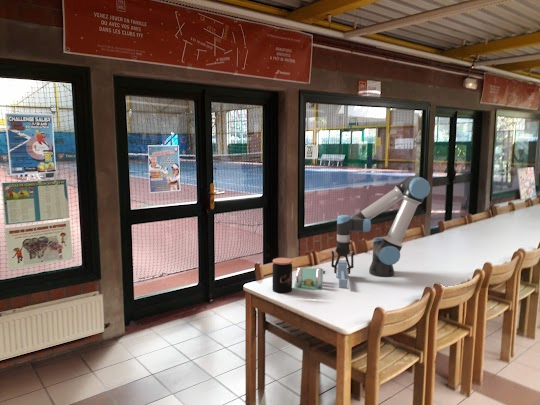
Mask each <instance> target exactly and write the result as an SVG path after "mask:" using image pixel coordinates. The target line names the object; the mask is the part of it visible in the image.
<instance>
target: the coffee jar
mask: <svg viewBox="0 0 540 405" xmlns="http://www.w3.org/2000/svg"><path fill="white" fill-rule="evenodd" d="M272 262H273V263H272V292H274V293H276V294H289V293H291V292H292V291H293V264H292V263H293V259H292V258H288V257H276V258H273V259H272Z"/></svg>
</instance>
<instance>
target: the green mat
mask: <svg viewBox="0 0 540 405" xmlns="http://www.w3.org/2000/svg"><path fill="white" fill-rule="evenodd" d="M302 268H303V282H302V285H301V288H297V287H296V281H295V283H294V287H293V290H307V291H310V290H311V291H323V279H324V268H321V269H322V283H321V289H316V271H317V268H312V267H311V268H309V267H302ZM305 279H312V280H314V285H313V286H311V287H310V286H305V285H304V280H305Z"/></svg>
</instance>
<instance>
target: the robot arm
mask: <svg viewBox="0 0 540 405" xmlns="http://www.w3.org/2000/svg"><path fill="white" fill-rule="evenodd" d="M430 191H431V185H430V183H429V181H428V180H427V179H425V178H423V177H421V176H415V175H411V176H408V177H406V178H404V179H403V180H402V181H400V182H399V183H397V184H396V185H395V186H394V188H393V189H391V190H390V191H389V192H388V193H386V194H384V195H383V196H382V197H380V198H378V199H377V200H375V201H374V202H373V203H371V204H370V205H368V206H367V207H365V208H364V209H362V210H360V212H358V213H355V214H353V215H351V216H350V215H349V214H341V215H338V216H337V222H336V248H335V249H332V250H331V251H330V252H331V268H333V270H334V272H333V273H334V274H335V278H336V279H338V262H339V260H341V259H340V258H341V257H344V258H345V260H346V262H347V278H346V279H347V281H348V280H349V275H350V274H351V269H353V268H354V255H355V251H354V250H350V240H351V238H350V237H351V236H350V235H351V234H350V233H351V232H356V233H357V232H360V233H361V232H363V233H366V232H367V233H368V232H370V231H371V229H372V222H371V220H373V218H375V217H377V216H379V215H380V214H381V213H382V212H384V211H385V210H387V209H389V208H390V207H392V206H393V205H394V204H396V203H397V202H399V201H401V200H402V202H401V205H400V207H399V208H398V210H397V214H396V215H395V218H394V219H393V223H392V224H391V227H390V228H389V231H388V233H387V236H384V237H383V236H379V237H378V236H377V237H374V238H373V240H372V259H371V260H372V261H371V264H370V266H369V270H368V272H369V274H370V275H373V276H376V277H383V278H385V277H387V278H389V277H392V276H394V275H395V269H394V266H393V265H395V264H396V263H398V262H399V261H400V259H401V250H402V248H403V244H402V241H403V239H404V237H405V234H406V232H407V231H408V228H409V226H410V223H411V221H412V218H413V217H414V215H415V213H416V210H417V208H418V206H419V205H420V204H422V203H423V202H424V200H425V198H426V197H427V196H428V195H429V194H430ZM335 254H336V255H337V257H336V260H335ZM349 254H350V261H349V256H348V255H349ZM334 263H335V264H334Z"/></svg>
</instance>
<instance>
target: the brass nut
mask: <svg viewBox="0 0 540 405" xmlns="http://www.w3.org/2000/svg"><path fill="white" fill-rule="evenodd" d="M304 285H305V286H310V287H311V286H313V285H314V280H312V279H305V280H304Z"/></svg>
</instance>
